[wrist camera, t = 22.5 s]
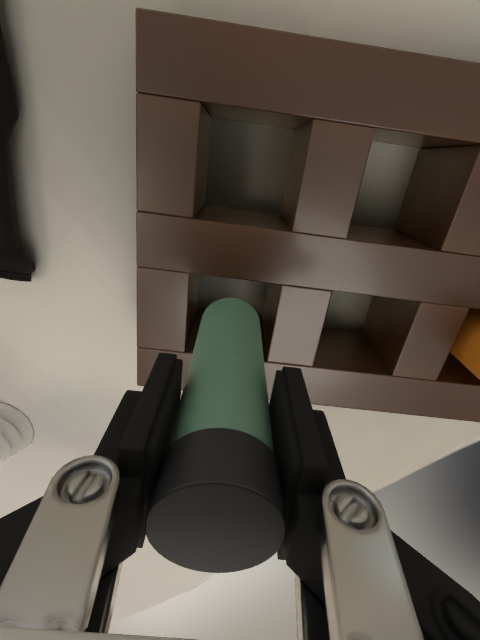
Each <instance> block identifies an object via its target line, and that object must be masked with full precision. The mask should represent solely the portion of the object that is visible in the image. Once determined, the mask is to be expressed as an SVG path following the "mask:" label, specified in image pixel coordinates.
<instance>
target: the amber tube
mask: <svg viewBox="0 0 480 640" xmlns="http://www.w3.org/2000/svg"><path fill="white" fill-rule="evenodd" d="M450 353H451V354H452V355H453V356H454V357H456V358H457V359H458V360H459V361H460V362H461V363H462V364H463V365H464V366H465V367H466V368H467V369H468V370H470V371H471V372H472V373H473V374H474V375H475V376H476V377H477V378H478V379H479V380H480V309H476V308H469V310H468V313H467V315H466V317H465V319H464V321H463V323H462V326H461V328H460V330H459V332H458V334H457V336H456V339H455V341H454V343H453V345H452V347H451V349H450Z"/></svg>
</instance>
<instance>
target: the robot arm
mask: <svg viewBox="0 0 480 640" xmlns="http://www.w3.org/2000/svg"><path fill="white" fill-rule="evenodd" d="M182 367H183V359H177V354H170V353H161V352H160V353H159V354H158V356H157V359H156V361H155V363H154V365H153V368H152V370H151V372H150V375H149V377H148V379H147V382H146V384H145V386H144V388H143V391H142V392H141V391H132V390H128V391H126V393H125V394H124V396H123V398H122V400H121V402H120V404H119V406H118V408H117V410H116V412H115V414H114V416H113V418H112V420H111V422H110V424H109V426H108V428H107V430H106V432H105V434H104V436H103V438H102V440H101V442H100V444H99V446H98V448H97V450H96V452H95V454H94V455H91V456H84V457H80V458H77V459H74V460H73V461H71V462H69V463H67V464H65V465H64V466H63V467H62V468H61V469H60V470H58V471H57V472H56V474H55V475H54V477H53V478H52V480H51V481H50V484H49V486H48V488H47V490H46V492H45V494H44V496H43V497H41V498H39V499H37V500H35V501H33V502H31V503H29V504H27V505H25V506H23V507H21V508H19V509H18V510H16V511H14V512H12V513H10V514H8V515H6V516H4V517H2V518H0V640H194V639H181V638H167V637H153V636H138V635H123V634H108V631H109V627H110V622H111V617H112V612H113V607H114V602H115V597H116V592H117V588H118V583H119V578H120V573H121V568H122V562H123V561H124V560H125V559H127V558H128V557H129V556H131V555H132V554H133V553H135V552H136V548H142V547H143V543H144V539H145V535H146V532H145V517H146V513H147V509H148V506H149V502H150V498H151V495H152V492H153V488H154V485H155V481H156V477H157V474H158V470H159V466H160V463H161V459H162V456H163V455H164V453H165V451H166V450H167V449H168V447H169V443H170V439H171V435H172V432H173V428H174V424H175V420H176V416H177V412H178V408H179V404H180V398H181V382H182ZM269 411H270V420H271V430H272V439H273V448H274V455H275V456H276V458H277V460H278V463H279V467H280V474H281V482H282V490H283V499H284V507H285V515H286V523H287V531H286V536H285V539H284V542H283V544H282V546H281V547H280V549H279V550H278V551H277V554H278V559H280V560H286V562H287V565H288V566H289V567H290V568H291V569H292V570H293V572H294V573H295V574H296V575H295V588H296V589H295V590H296V615H297V640H480V602H479V601H478V600H477V599H476V598H475V597H474V596H473V595H472V594H471V593H469V592H468V591H467V590H466V589H464V588H463V587H462V586H461V585H459V584H458V583H457V582H455V581H454V580H453V579H452V578H450V577H449V576H448V575H447V574H445V573H444V572H443V571H442V570H440V569H439V568H438V567H436V566H435V565H434V564H433V563H431V562H430V561H429V560H427V559H426V558H425V557H424V556H422V555H421V554H420V553H419V552H417V551H416V550H415V549H414V548H412V547H411V546H410V545H408V544H407V543H406V542H405V541H404V540H402V539H401V538H400V537H399V536H397V535H396V534H395V533H393V532H392V531H391V530H390V527H389V524H388V521H387V517H386V514H385V511H384V509H383V507H382V505H381V503H380V501H379V500H378V499H377V497H376V496H375V495H374V494H373V493H372V492H371V491H370V490H368V489H367V488H366V487H364V486H362V485H361V484H359V483H357V482H354V481H351V480H346V478H345V475H344V472H343V469H342V466H341V463H340V460H339V457H338V453H337V450H336V447H335V444H334V441H333V438H332V435H331V432H330V429H329V426H328V423H327V420H326V417H325V414H324V412H323V411H319V410H313V409H312V406H311V402H310V399H309V395H308V392H307V388H306V385H305V381H304V377H303V374H302V370H301V368H294V367H286V366H284V367H283V368H282V370H277V371H276V374H275V379H274V383H273V388H272V393H271V398H270V403H269Z"/></svg>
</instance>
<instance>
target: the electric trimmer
mask: <svg viewBox="0 0 480 640" xmlns="http://www.w3.org/2000/svg"><path fill="white" fill-rule="evenodd" d="M17 119H18V111H17V105H16V98H15V92H14V87H13V82H12V77H11V73H10V68H9V63H8V59H7V54H6V49H5V45H4V40H3V36H2V31H1V26H0V278H5V279H10V280H17V281H31V275H30V273H31V272H33V271H34V270H35V265H34V263H32V262H31V261H29V260H28V259H27V258H26V257H24V255H23V254H22V252H21V246H20V238H19V230H18V222H17V214H16V206H15V198H14V190H13V182H12V174H11V166H10V158H9V150H8V138H9V135H10V133H11V131H12V129H13V127H14V125H15V123H16V121H17Z"/></svg>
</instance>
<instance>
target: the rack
mask: <svg viewBox="0 0 480 640" xmlns="http://www.w3.org/2000/svg"><path fill="white" fill-rule="evenodd" d="M136 91H137V92H138V93H137V94H136V172H137V210H138V211H137V212H136V227H137V385H138V386H145V384H146V382H147V379H148V377H149V375H150V372H151V370H152V368H153V365H154V363H155V361H156V359H157V356H158V354H159V353H160V352H161V353H170V354H177V359H183V367H182V382H181V390H183V389H184V385H185V381H186V377H187V373H188V370H189V366H190V362H191V358H192V354H193V350H194V346H195V342H196V339H197V335H198V331H199V327H200V323H201V319H202V316H203V313H196V312H197V302H198V289H199V276H200V274H203V275H211V276H219V277H227V278H235V279H243V280H251V281H259V282H267V283H268V287H267V293H266V299H265V304H264V310H263V316H262V320H260V329H261V338H262V347H263V356H264V365H265V375H266V384H267V393H268V400H270V398H271V393H272V388H273V383H274V379H275V374H276V371H277V370H282V368H283V367H284V366H286V367H294V368H301V370H302V374H303V377H304V381H305V385H306V388H307V392H308V395H309V399H310V402H311V404H315V405H324V406H334V407H343V408H352V409H362V410H371V411H380V412H390V413H399V414H408V415H418V416H427V417H436V418H446V419H455V420H464V421H474V422H480V380H479V379H478V378H477V377H476V376H475V375H474V374H473V373H472V372H471V371H470V370H468V369H467V368H466V367H465V366H464V365H463V364H462V363H461V362H460V361H459V360H458V359H457V358H456V357H454V356H453V355H452V354H451V353H450V349H451V347H452V345H453V343H454V341H455V339H456V336H457V334H458V332H459V330H460V328H461V326H462V323H463V321H464V319H465V317H466V315H467V313H468V310H469V308H476V309H480V63H476V62H470V61H463V60H457V59H451V58H445V57H439V56H433V55H426V54H420V53H414V52H408V51H402V50H396V49H389V48H383V47H377V46H371V45H365V44H359V43H352V42H346V41H340V40H334V39H328V38H322V37H315V36H309V35H303V34H297V33H291V32H285V31H278V30H272V29H266V28H260V27H254V26H248V25H241V24H235V23H229V22H223V21H217V20H211V19H204V18H198V17H192V16H186V15H180V14H174V13H167V12H161V11H155V10H149V9H143V8H136ZM211 117H215V118H222V119H229V120H235V121H242V122H249V123H256V124H262V125H269V126H276V127H283V128H289V129H296V130H295V131H294V137H293V143H292V148H291V154H290V160H289V166H288V172H287V177H286V183H285V189H284V195H283V200H282V206H281V212H280V215H279V214H271V213H264V212H256V211H249V210H241V209H234V208H227V207H219V206H212V205H204V204H205V200H206V188H207V175H208V163H209V150H210V137H211V125H212V118H211ZM372 141H377V142H384V143H391V144H398V145H404V146H411V147H418V148H421V149H420V152H419V155H418V158H417V162H416V165H415V168H414V171H413V174H412V177H411V180H410V183H409V186H408V190H407V193H406V196H405V199H404V202H403V205H402V208H401V211H400V214H399V218H398V221H397V224H396V227H395V230H390V229H382V228H375V227H368V226H360V225H353V224H350V223H351V219H352V215H353V211H354V208H355V204H356V200H357V196H358V192H359V189H360V185H361V181H362V177H363V173H364V170H365V166H366V162H367V158H368V154H369V151H370V147H371V143H372ZM332 291H340V292H348V293H356V294H364V295H372V296H373V298H372V301H371V304H370V307H369V310H368V313H367V317H366V320H365V323H364V326H363V329H362V332H356V331H348V330H339V329H331V328H323V325H324V321H325V317H326V314H327V310H328V306H329V302H330V298H331V295H332Z"/></svg>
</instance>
